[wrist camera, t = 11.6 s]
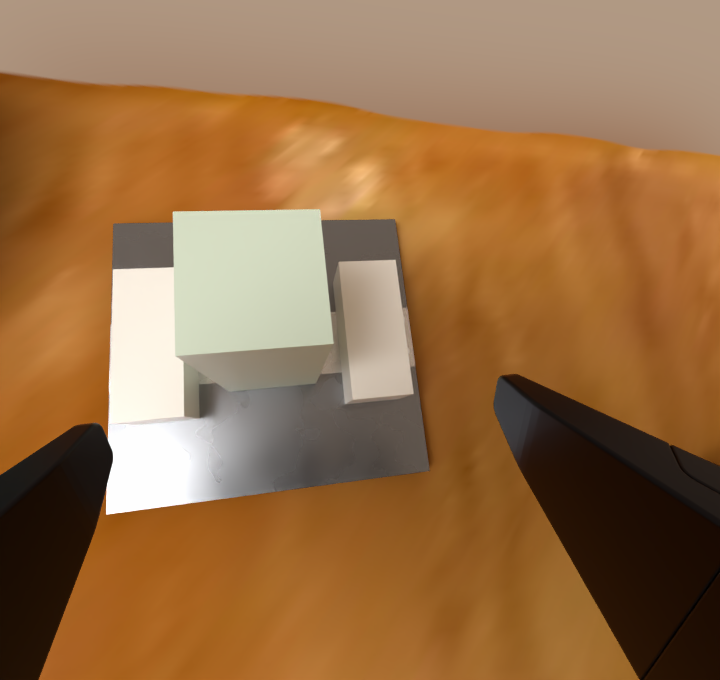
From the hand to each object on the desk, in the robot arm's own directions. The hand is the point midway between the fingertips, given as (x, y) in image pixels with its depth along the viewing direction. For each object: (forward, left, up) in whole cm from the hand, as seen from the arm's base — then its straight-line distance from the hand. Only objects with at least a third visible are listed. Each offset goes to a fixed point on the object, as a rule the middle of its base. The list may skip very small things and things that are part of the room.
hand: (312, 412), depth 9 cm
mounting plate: (0, +5, -13) cm, 14 cm away
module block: (0, +5, -12) cm, 13 cm away
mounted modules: (0, +5, -13) cm, 14 cm away
